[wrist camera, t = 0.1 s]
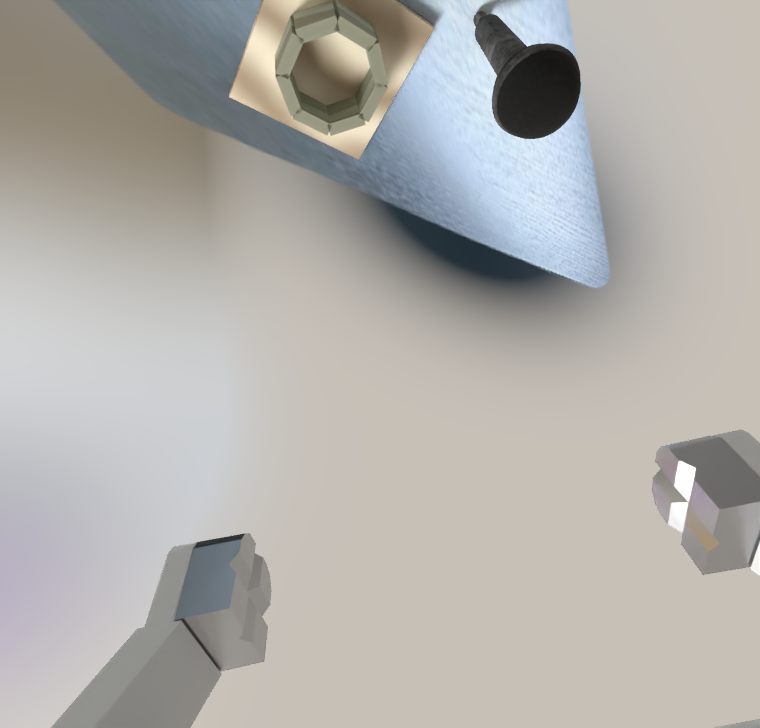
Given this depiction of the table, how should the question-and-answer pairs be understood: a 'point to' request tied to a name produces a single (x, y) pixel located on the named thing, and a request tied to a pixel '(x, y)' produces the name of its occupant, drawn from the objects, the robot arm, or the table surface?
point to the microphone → (528, 80)
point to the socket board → (329, 65)
